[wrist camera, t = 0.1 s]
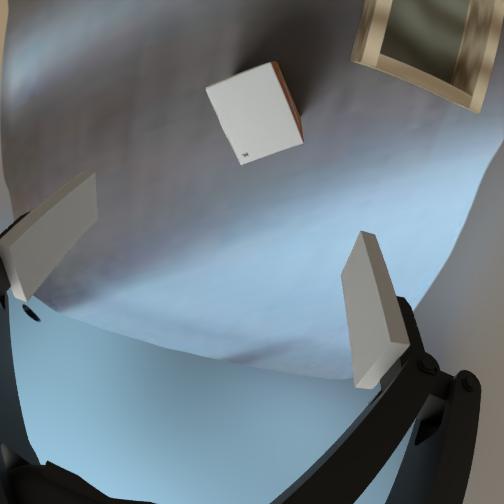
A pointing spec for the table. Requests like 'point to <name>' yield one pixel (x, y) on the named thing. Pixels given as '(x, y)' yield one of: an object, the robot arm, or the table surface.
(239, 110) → the small box
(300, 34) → the table surface
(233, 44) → the table surface
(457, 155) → the table surface
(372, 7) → the crate
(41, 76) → the table surface
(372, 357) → the robot arm
